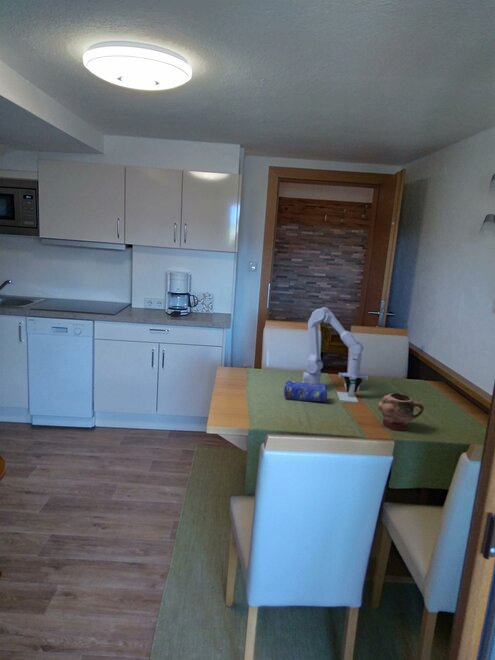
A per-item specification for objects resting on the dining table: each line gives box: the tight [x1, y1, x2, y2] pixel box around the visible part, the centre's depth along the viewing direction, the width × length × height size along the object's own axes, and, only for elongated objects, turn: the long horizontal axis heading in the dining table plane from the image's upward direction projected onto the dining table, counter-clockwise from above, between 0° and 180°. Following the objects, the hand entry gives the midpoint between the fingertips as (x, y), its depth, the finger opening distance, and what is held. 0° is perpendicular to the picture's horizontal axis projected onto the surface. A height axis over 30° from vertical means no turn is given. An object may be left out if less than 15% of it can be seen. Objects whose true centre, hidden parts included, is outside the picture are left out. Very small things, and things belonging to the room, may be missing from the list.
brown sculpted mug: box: [376, 392, 425, 431], centre depth 193 cm, size 20×12×14 cm, turn 93°
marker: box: [348, 379, 356, 397], centre depth 226 cm, size 4×4×8 cm
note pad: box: [336, 390, 359, 404], centre depth 226 cm, size 9×13×1 cm
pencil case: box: [282, 379, 328, 403], centre depth 218 cm, size 22×9×10 cm, turn 84°
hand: (351, 391), depth 227 cm, fingers closed on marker, 3 cm apart
